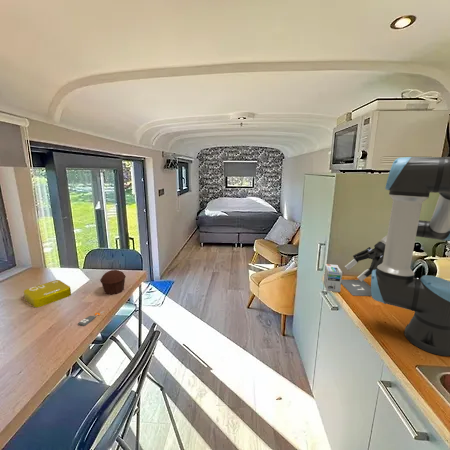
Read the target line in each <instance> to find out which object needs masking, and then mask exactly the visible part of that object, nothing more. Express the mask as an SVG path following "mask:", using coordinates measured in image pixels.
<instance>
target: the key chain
mask: <svg viewBox="0 0 450 450" xmlns="http://www.w3.org/2000/svg"><path fill="white" fill-rule="evenodd" d="M102 313H105V311H101V312H95V313H94V315H89V316H87V317H86V318H83V319H82V320H80V321H78V323H77V325H78V326H79V327H80V326H82V327H86V326H87V325H88V324H90V323H91V322H93V321H94V320H95V318H96V317H97V316H100V315H101V314H102Z"/></svg>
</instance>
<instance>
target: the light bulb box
mask: <svg viewBox="0 0 450 450" xmlns="http://www.w3.org/2000/svg"><path fill="white" fill-rule="evenodd" d="M341 280H343V271H342V270H341V268H340V266H339V265H338V264H330V263H325V264H324V273H323V284H324V287H325V290H326V291H327V292H335V293H341V289H342V286H341V285H342V284H341Z"/></svg>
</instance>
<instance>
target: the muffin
mask: <svg viewBox="0 0 450 450" xmlns="http://www.w3.org/2000/svg"><path fill="white" fill-rule="evenodd" d="M126 278H127V277H126V274H125V273H124V272H123V271H121V270H118V269H112V270H109V271H107V272H105V273H104V274H103V275H102V277H101V278H100V279H99V280H100V283H101V285H102V288H103V292H104V293H105V295H109V296H111V295H112V296H113V295H118V294H120V293H122V292H123V291H124V290H125V280H126Z"/></svg>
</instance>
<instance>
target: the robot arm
mask: <svg viewBox="0 0 450 450" xmlns="http://www.w3.org/2000/svg"><path fill="white" fill-rule="evenodd" d="M384 189H385V190H386V191H388V192H389V193H388V196H389V197H390V198H391V199H392V205H391V210H390V215H389V216H390V217H389V223H388V229H387V234H386V235H385V236H384V237H382V238H380V240H379V241H377V243H375V244H374V245H373V246H374V248H373V249H372V247H371V246H370V247H369V246H368V247H367V248H366V249H364V250H362V251H360V252H358V253H355V254H354V255H352V257H353V259H352V260H351V261H349V262H348V263H347V264H346V265H344V267H345V269H346V270H347V271H349V270H351V269H352V268H353V267H354V266H356V265H357V264H358V263H359V262H360V261H365V260H369V259H371V260H372V261H371V264H370V267H369V268H367V269H365V270H364V271H363V272H362V273H360V275H358V276H357V277H356V278H357V280H360V281H363V280H364V281H365V280H366V279H367V278H368V277H369V276H371V277H370V279H371V280H370V286H371V295H372V296H371V298H372V299H373V300H374V301H376V302H380V303H383V304H385V305H390V306H393V307H397V308H401V309H404V310H409V311H414V313H413V316H412V317H411V319H410V321H409V323H407V324H406V326H405V329H404V331H403V332H404V336H405V338H406V339H407V340H408V342H410V343H411V344H412V345H414V346H416V347H417V348H418V349H421V350H422V351H426V352H427V353H430V354H433V355H436V356H437V355H438V356H442V357H444V356H445V357H450V281H449V280H447V279H444V278H442V277H438V276H434V275H422V276H421V277H420V278H416V277H415V272H414V271H413V270H412V268H411V265H412V259H413V254H414V248H415V245H416V244H415V243H416V239H417V237H418V238H424V239H425V238H426V239H432V240H433V239H434V240H439V241H448V242H449V241H450V156H408V157H407V156H405V157H404V156H403V157H398V158H396V159H395V160H393V162H392V165H391V168H390V170H389V173H388V176H387V180H386V184H385V187H384ZM430 193H436V194H437V193H439V196H438V198H437V202H436V205H435V207H434V211H433V213H432V215H431V218H430V220H422V219H420V216H421V212H422V211H421V210H422V205H423V203H424V202H425V201H426V200H427V199H429V198H430Z"/></svg>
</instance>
